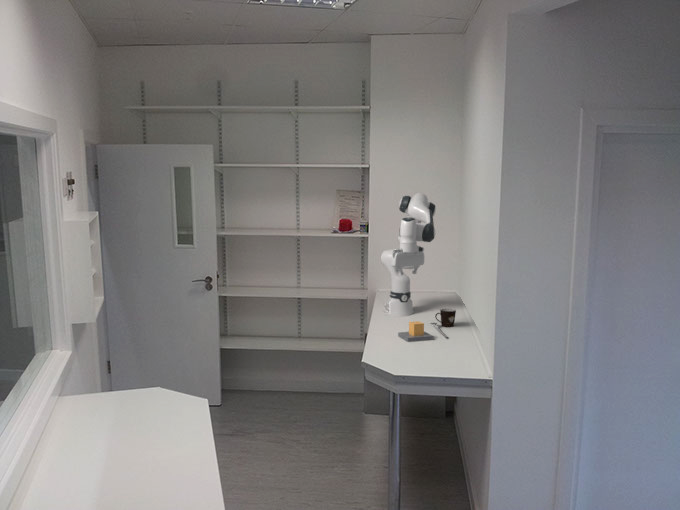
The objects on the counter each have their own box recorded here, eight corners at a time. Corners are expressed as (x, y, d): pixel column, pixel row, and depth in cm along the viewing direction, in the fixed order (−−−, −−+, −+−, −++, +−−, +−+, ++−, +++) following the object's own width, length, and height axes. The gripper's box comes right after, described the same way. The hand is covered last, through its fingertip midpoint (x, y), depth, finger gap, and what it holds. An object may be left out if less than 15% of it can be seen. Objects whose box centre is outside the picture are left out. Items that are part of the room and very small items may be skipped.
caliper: (437, 327, 330) (429, 324, 329) (439, 323, 330) (431, 320, 329) (453, 341, 301) (444, 339, 300) (455, 337, 301) (446, 334, 300)
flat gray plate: (398, 336, 305) (398, 323, 305) (422, 334, 310) (422, 322, 309) (407, 341, 294) (408, 329, 293) (433, 339, 298) (433, 327, 298)
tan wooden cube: (408, 333, 303) (409, 322, 302) (418, 332, 305) (418, 321, 304) (413, 335, 298) (414, 324, 297) (423, 335, 300) (423, 323, 299)
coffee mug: (454, 325, 330) (454, 308, 329) (456, 329, 321) (457, 311, 320) (433, 325, 330) (433, 308, 329) (435, 329, 322) (435, 311, 321)
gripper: (396, 249, 301) (396, 276, 303) (426, 248, 313) (425, 273, 314) (388, 248, 306) (388, 275, 308) (418, 247, 318) (418, 272, 319)
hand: (407, 274), depth 311 cm, fingers open, 8 cm apart
